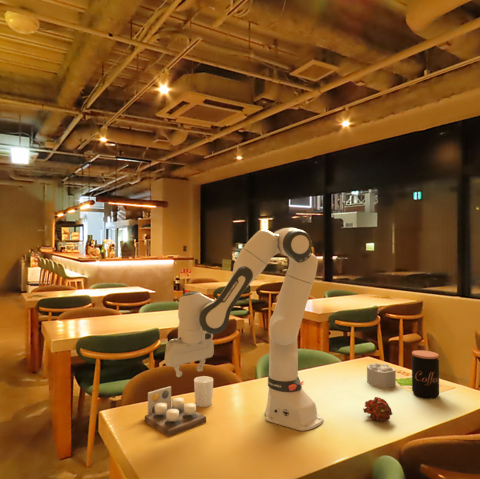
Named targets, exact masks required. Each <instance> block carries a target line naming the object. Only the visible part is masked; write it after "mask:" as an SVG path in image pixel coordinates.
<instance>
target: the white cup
mask: <svg viewBox="0 0 480 479" xmlns="http://www.w3.org/2000/svg"><path fill="white" fill-rule="evenodd" d="M193 387H194V388H193V389H194V398H195V399H194V400H195V401H194V402H195V403H194V404H196V407H199V408H200V407H201V408H207V407H210V406H211V405H212V404H213V394H214V393H213V391H214V378H213V377H212V376H207V375H206V376H205V375H202V376H197V377H194V379H193Z"/></svg>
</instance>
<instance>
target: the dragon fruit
mask: <svg viewBox="0 0 480 479" xmlns="http://www.w3.org/2000/svg"><path fill="white" fill-rule="evenodd" d="M364 407H365V408H362V410H363V413H365V414H368V415H370V416H369V417H370V419H371V420H373V421H374V420H376V421H379V422H384V421H389V420H390V419H391V416H392V415H393V412H392V408H391V406H390V404H389V403H388V402H387V400H386V399H384V398H381V397H378V396H375V397H374V399H369V400H366V401H365V403H364Z"/></svg>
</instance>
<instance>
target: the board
mask: <svg viewBox="0 0 480 479" xmlns="http://www.w3.org/2000/svg"><path fill="white" fill-rule="evenodd" d="M169 409H175V408H173V407H172V406H171V407H170V408H167V410H169ZM178 410H179V419H178V420H176V421H168V420H166V413H165V414H161V415H159V414H155V413H152V414H149V415H148V414H146V415H144V422H145V423H146V424H148V425H150V426H151V427H153V428H155V429H156V430H158V431H160V432H161V433H163V434H164V435H166V436H168V437H172V436H173V435H177V434H179V433H182V432H184V431H186V430H190V429H191V428H192V429H193V428H195V427H197V426H200V425H202V424H204V423H207V416H205V415H204V414H202V413H200V412H197V411H196V413H195V414H192V415H186V414H184V407H183V408H179V409H178Z"/></svg>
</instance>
